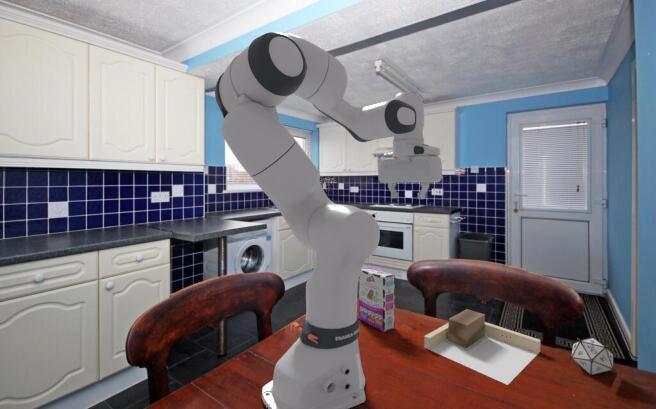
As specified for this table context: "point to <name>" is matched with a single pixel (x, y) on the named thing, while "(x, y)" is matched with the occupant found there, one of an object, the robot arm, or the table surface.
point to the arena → (488, 351)
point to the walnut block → (466, 328)
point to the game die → (592, 356)
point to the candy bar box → (377, 299)
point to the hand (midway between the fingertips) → (407, 198)
